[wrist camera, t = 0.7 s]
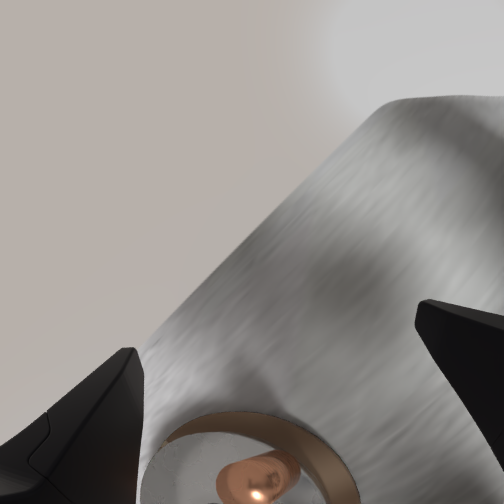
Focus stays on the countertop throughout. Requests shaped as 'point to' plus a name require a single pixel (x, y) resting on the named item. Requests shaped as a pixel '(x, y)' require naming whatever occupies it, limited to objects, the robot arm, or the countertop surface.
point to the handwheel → (228, 473)
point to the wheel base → (283, 447)
